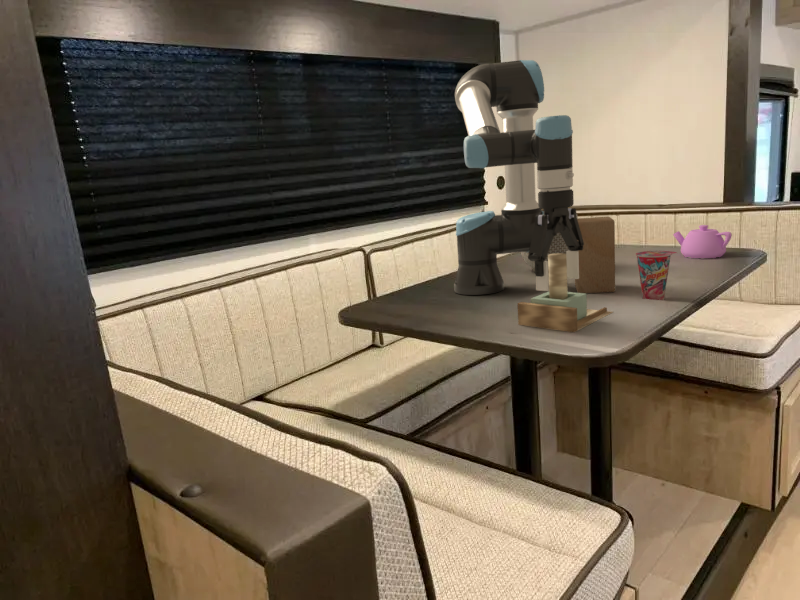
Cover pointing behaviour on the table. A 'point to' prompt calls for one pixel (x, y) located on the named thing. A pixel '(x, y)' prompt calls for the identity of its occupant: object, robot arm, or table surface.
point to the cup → (653, 273)
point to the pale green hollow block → (565, 302)
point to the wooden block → (596, 255)
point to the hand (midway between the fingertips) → (558, 284)
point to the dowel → (557, 276)
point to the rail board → (556, 316)
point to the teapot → (703, 243)
